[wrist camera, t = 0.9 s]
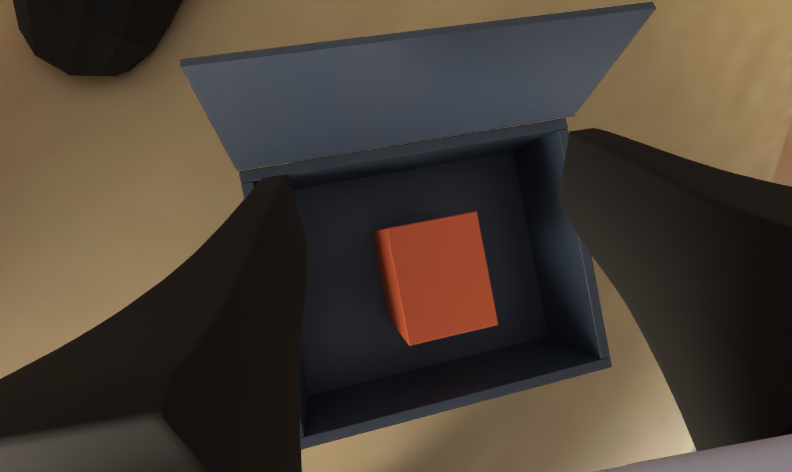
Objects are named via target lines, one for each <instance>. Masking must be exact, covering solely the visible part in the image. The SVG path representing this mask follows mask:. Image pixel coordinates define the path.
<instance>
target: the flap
mask: <svg viewBox="0 0 792 472" xmlns="http://www.w3.org/2000/svg"><path fill="white" fill-rule="evenodd" d="M655 9H656V7H655V5H654V3H653V2H646V3H638V4H630V5H621V6H613V7H605V8H597V9H589V10H581V11H572V12H564V13H556V14H548V15H540V16H531V17H523V18H515V19H507V20H499V21H491V22H482V23H474V24H466V25H458V26H450V27H442V28H433V29H425V30H417V31H409V32H401V33H392V34H384V35H376V36H368V37H360V38H352V39H343V40H335V41H327V42H319V43H311V44H303V45H294V46H286V47H278V48H270V49H262V50H253V51H245V52H237V53H229V54H221V55H213V56H204V57H196V58H188V59H181V60H180V65H181V69H182V71H183V72H184V74H185V76H186V78H187V80H188V82H189V84H190V85H191V87H192V89H193V91H194V93H195V95H196V96H197V98H198V100H199V102H200V104H201V106H202V107H203V109H204V111H205V113H206V115H207V117H208V119H209V120H210V122H211V124H212V126H213V128H214V130H215V131H216V133H217V135H218V137H219V139H220V141H221V142H222V144H223V146H224V148H225V150H226V152H227V153H228V155H229V157H230V159H231V161H232V163H233V165H234V166H235V168H236V170H237V171H239V170H245V169H251V168H258V167H264V166H270V165H276V164H282V163H288V162H294V161H300V160H307V159H313V158H319V157H325V156H331V155H337V154H343V153H350V152H356V151H362V150H368V149H374V148H380V147H386V146H392V145H399V144H405V143H411V142H417V141H423V140H429V139H435V138H441V137H448V136H454V135H460V134H466V133H472V132H478V131H484V130H490V129H497V128H503V127H509V126H515V125H521V124H527V123H533V122H539V121H546V120H552V119H558V118H564V117H570V116H574V115H575V113H576V112H577V111H578V110H579V108H580V107H581V106H582V104H583V103H584V102H585V100H586V99H587V98H588V96H589V95H590V94H591V93H592V91H593V90H594V89H595V87H596V86H597V85H598V83H599V82H600V81H601V79H602V78H603V77H604V76H605V74H606V73H607V72H608V70H609V69H610V68H611V66H612V65H613V64H614V62H615V61H616V60H617V59H618V57H619V56H620V55H621V53H622V52H623V51H624V49H625V48H626V47H627V46H628V44H629V43H630V42H631V40H632V39H633V38H634V36H635V35H636V34H637V32H638V31H639V30H640V29H641V27H642V26H643V25H644V23H645V22H646V21H647V19H648V18H649V17H650V15H651V14H652V13H653V12H654V10H655Z"/></svg>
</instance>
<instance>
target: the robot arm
mask: <svg viewBox="0 0 792 472" xmlns="http://www.w3.org/2000/svg"><path fill="white" fill-rule="evenodd" d="M558 199H559V201H560V203H561V205H562V208H563V210H564V212H565V214H566V216H567V218H568V220H569V222H570V224H571V226H572V227H573V229H574V231H575V232H576V233H577V235H578V236H579V238H580V239H581V241H582V242H583V244H584V245H585V246H586V248H587V249H588V251H589V252H590V253H591V255H592V256H593V258H594V259H595V260H596V262H597V263H598V264H599V266H600V267H601V269H602V270H603V271H604V273H605V274H606V276H607V277H608V278H609V280H610V281H611V282H612V284H613V285H614V287H615V288H616V289H617V291H618V292H619V294H620V295H621V297H622V299H623V300H624V302H625V303H626V305H627V306H628V308H629V310H630V312H631V314H632V315H633V317H634V319H635V321H636V323H637V324H638V326H639V328H640V330H641V332H642V333H643V335H644V337H645V339H646V341H647V343H648V345H649V347H650V349H651V351H652V353H653V355H654V357H655V359H656V361H657V363H658V365H659V367H660V369H661V370H662V373H663V375H664V377H665V379H666V381H667V383H668V386H669V388H670V390H671V392H672V394H673V396H674V398H675V401H676V403H677V405H678V407H679V409H680V411H681V414H682V416H683V419H684V421H685V423H686V426H687V428H688V431H689V433H690V435H691V438H692V440H693V443H694V445H695V447H696V450H697V452H691V453H686V454H680V455H675V456H669V457H664V458H658V459H653V460H648V461H642V462H637V463H632V464H629V465H625V466H621V467H616V468H611V469H606V470H600V471H595V472H792V187H790V186H785V185H780V184H776V183H772V182H768V181H763V180H759V179H755V178H751V177H747V176H743V175H739V174H735V173H731V172H728V171H724V170H721V169H717V168H714V167H711V166H708V165H704V164H701V163H698V162H694V161H691V160H688V159H685V158H682V157H679V156H676V155H674V154H671V153H668V152H665V151H662V150H659V149H657V148H654V147H651V146H648V145H645V144H643V143H640V142H637V141H634V140H631V139H629V138H626V137H623V136H620V135H617V134H614V133H611V132H607V131H604V130H600V129H595V128H591V129H584V130H577V131H571V132H570V133H569V139H568V144H567V150H566V156H565V162H564V167H563V173H562V179H561V185H560V190H559V196H558ZM306 281H307V242H306V235H305V231H304V228H303V225H302V221H301V218H300V214H299V211H298V208H297V204H296V201H295V198H294V194H293V191H292V187H291V184H290V181H289V177H288V174H284V175H277V176H270V177H263V178H262V179H261V180H260V181H259V182H258V184H257V185H256V186H255V187H254V188H253V189H252V191H251V192H250V193H249V194H248V196H247V197H246V198H245V199H244V200H243V202H242V203H241V204H240V205H239V206H238V207H237V209H236V210H235V211H234V212H233V213H232V214H231V215H230V217H229V218H228V219H227V220H226V221H225V222H224V223H223V224H222V226H221V227H220V228H219V229H218V230H217V231H216V232H215V233H214V234H213V235H212V236H211V237H210V238H209V239H208V240H207V241H206V242H205V243H204V244H203V245H202V246H201V247H200V248H199V249H198V250H197V251H196V252H195V253H194V254H193V255H192V256H191V257H190V258H188V259H187V260H186V261H185V262H184V263H183V264H182V265H180V266H179V267H178V268H177V269H176V270H174V271H173V272H172V273H171V274H170V275H169V276H167V277H166V278H165V279H164V280H162V281H161V282H160V283H158V284H157V285H156V286H154V287H153V288H151V289H150V290H149V291H147V292H146V293H145V294H143V295H142V296H140V297H139V298H138V299H136V300H135V301H134V302H132V303H131V304H129V305H128V306H127V307H125V308H124V309H122V310H121V311H119V312H118V313H116V314H115V315H113V316H112V317H110V318H108V319H107V320H105V321H104V322H102V323H101V324H99V325H97V326H96V327H94V328H92V329H91V330H89V331H87V332H86V333H84V334H82V335H81V336H79V337H77V338H76V339H74V340H72V341H71V342H69V343H67V344H65V345H64V346H62V347H60V348H58V349H57V350H55V351H53V352H51V353H49V354H47V355H45V356H43V357H41V358H39V359H38V360H36V361H34V362H32V363H30V364H28V365H26V366H24V367H22V368H21V369H19V370H17V371H15V372H13V373H11V374H9V375H7V376H5V377H3V378H1V379H0V472H302V468H301V443H300V404H299V352H300V339H301V329H302V320H303V310H304V301H305V291H306Z"/></svg>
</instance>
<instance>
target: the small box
mask: <svg viewBox="0 0 792 472" xmlns="http://www.w3.org/2000/svg"><path fill="white" fill-rule="evenodd" d="M372 234H373V239H374V244H375V249H376V254H377V260H378V265H379V270H380V275H381V280H382V285H383V290H384V295H385V301H386V306H387V311H388V316H389V320H390V321H391V323H392V324H393V325H394V326H395V328H396V329H397V330H398V332H399V333H400V334H401V336H402V337H403V338H404V339H405V341H406V342H407V343H408V345H409V346H411V345H415V344H420V343H424V342H428V341H432V340H436V339H441V338H445V337H449V336H453V335H457V334H462V333H466V332H470V331H474V330H478V329H483V328H487V327H491V326H495V325H498V320H497V315H496V310H495V305H494V299H493V294H492V289H491V284H490V278H489V273H488V268H487V262H486V257H485V252H484V247H483V241H482V236H481V231H480V226H479V220H478V215H477V211H474V212H469V213H464V214H458V215H453V216H448V217H443V218H438V219H432V220H427V221H422V222H417V223H412V224H407V225H401V226H396V227H391V228H386V229H381V230H377V231H373V232H372Z"/></svg>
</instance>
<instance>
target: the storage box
mask: <svg viewBox="0 0 792 472" xmlns="http://www.w3.org/2000/svg"><path fill="white" fill-rule="evenodd" d="M568 139H569V133H568V129H567V122H566V118H563V119H557V120H551V121H545V122H539V123H532V124H526V125H520V126H514V127H508V128H502V129H496V130H490V131H484V132H477V133H471V134H465V135H459V136H453V137H447V138H441V139H435V140H428V141H422V142H416V143H410V144H404V145H398V146H392V147H386V148H380V149H373V150H367V151H361V152H355V153H349V154H343V155H337V156H331V157H325V158H318V159H312V160H306V161H300V162H294V163H288V164H282V165H276V166H269V167H263V168H257V169H251V170H245V171H240V172H239V175H240V180H241V183H242V184H241V185H242V190H243V195H244V199H245V198H246V197H247V196H248V194H249V193H250V192H251V191H252V189H253V188H254V187H255V186H256V185H257V184H258V182H259V181H260V180H261V179H262V178H263V177H270V176H277V175H284V174H288V177H289V181H290V184H291V187H292V191H293V194H294V198H295V201H296V204H297V208H298V211H299V214H300V218H301V221H302V225H303V228H304V231H305V235H306V242H307V281H306V291H305V301H304V310H303V320H302V329H301V339H300V352H299V404H300V443H301V449H305V448H308V447H312V446H316V445H320V444H323V443H327V442H331V441H335V440H338V439H342V438H346V437H350V436H354V435H357V434H361V433H365V432H369V431H372V430H376V429H380V428H384V427H387V426H391V425H395V424H399V423H402V422H406V421H410V420H414V419H418V418H421V417H425V416H429V415H433V414H436V413H440V412H444V411H448V410H451V409H455V408H459V407H463V406H467V405H470V404H474V403H478V402H482V401H485V400H489V399H493V398H497V397H500V396H504V395H508V394H512V393H515V392H519V391H523V390H527V389H531V388H534V387H538V386H542V385H546V384H549V383H553V382H557V381H561V380H564V379H568V378H572V377H576V376H580V375H583V374H587V373H591V372H595V371H598V370H602V369H606V368H610V367H612V365H611V360H610V354H609V349H608V344H607V338H606V333H605V327H604V322H603V317H602V311H601V306H600V300H599V295H598V290H597V284H596V279H595V273H594V268H593V263H592V257H591V253H590V252H589V251H588V249H587V248H586V246H585V245H584V244H583V242H582V241H581V239H580V238H579V236H578V235H577V233H576V232H575V231H574V229H573V227H572V226H571V224H570V222H569V220H568V218H567V216H566V214H565V212H564V210H563V208H562V205H561V203H560V201H559V199H558V196H559V190H560V185H561V179H562V173H563V167H564V162H565V156H566V150H567V144H568ZM474 211H477V215H478V220H479V226H480V231H481V236H482V241H483V247H484V252H485V257H486V262H487V268H488V273H489V278H490V284H491V289H492V294H493V299H494V305H495V310H496V315H497V320H498V325H495V326H491V327H487V328H483V329H478V330H474V331H470V332H466V333H462V334H457V335H453V336H449V337H445V338H441V339H436V340H432V341H428V342H424V343H420V344H415V345H411V346H409V345H408V343H407V342H406V341H405V339H404V338H403V337H402V336H401V334H400V333H399V332H398V330H397V329H396V328H395V326H394V325H393V324H392V323H391V321H390V320H389V316H388V311H387V306H386V301H385V295H384V290H383V285H382V280H381V275H380V270H379V265H378V260H377V254H376V249H375V244H374V239H373V234H372V232H373V231H377V230H381V229H386V228H391V227H396V226H401V225H407V224H412V223H417V222H422V221H427V220H432V219H438V218H443V217H448V216H453V215H458V214H464V213H469V212H474Z"/></svg>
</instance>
